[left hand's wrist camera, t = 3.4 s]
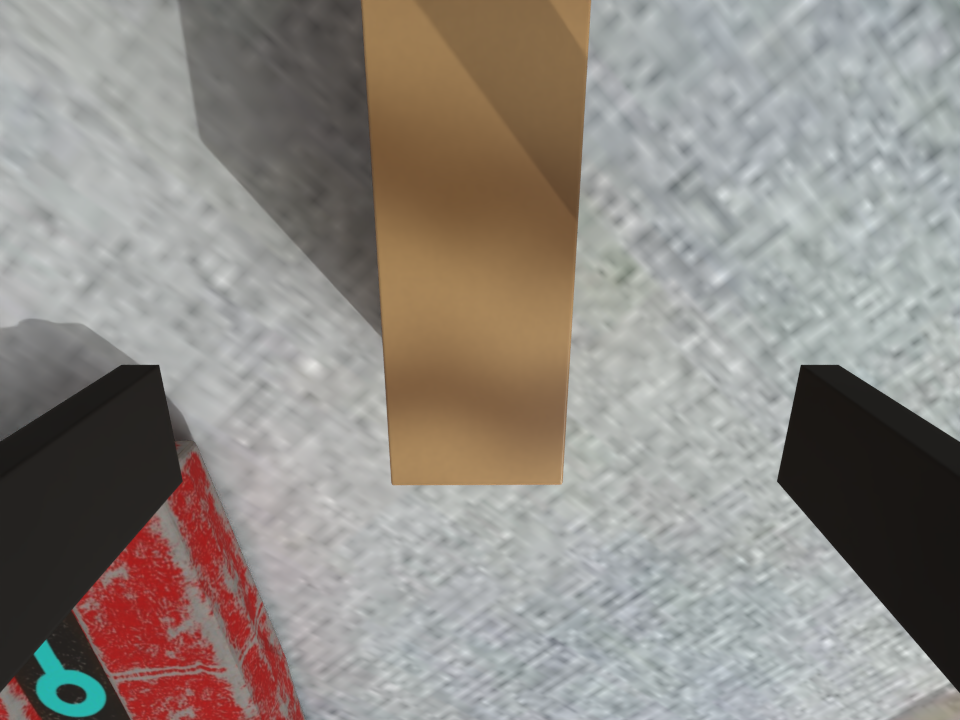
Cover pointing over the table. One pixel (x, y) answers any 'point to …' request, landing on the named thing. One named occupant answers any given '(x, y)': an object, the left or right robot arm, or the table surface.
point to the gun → (164, 629)
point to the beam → (476, 230)
